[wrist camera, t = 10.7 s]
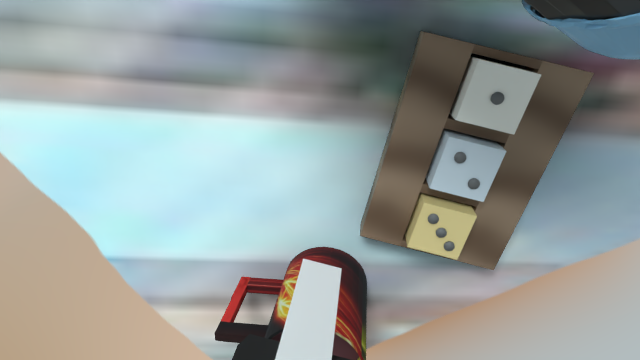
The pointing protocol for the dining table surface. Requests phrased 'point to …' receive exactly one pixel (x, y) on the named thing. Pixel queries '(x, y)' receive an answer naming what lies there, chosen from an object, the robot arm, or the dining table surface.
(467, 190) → the two-dot tile
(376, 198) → the board
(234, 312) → the mug
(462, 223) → the tile
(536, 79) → the tile
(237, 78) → the dining table surface
